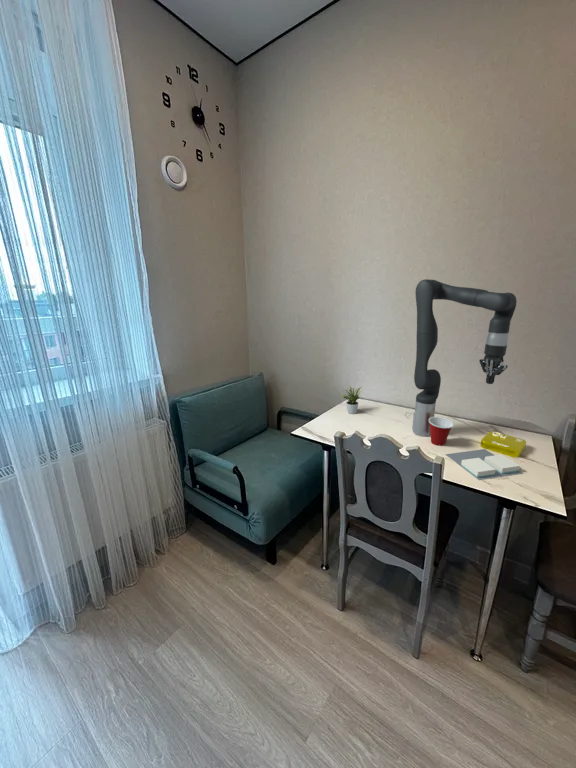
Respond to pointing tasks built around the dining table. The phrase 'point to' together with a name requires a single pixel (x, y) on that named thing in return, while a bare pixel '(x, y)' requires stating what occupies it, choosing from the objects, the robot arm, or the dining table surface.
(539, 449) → the dining table surface
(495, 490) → the dining table surface
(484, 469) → the tile
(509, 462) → the tile
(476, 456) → the mat
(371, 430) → the dining table surface
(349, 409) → the house plant
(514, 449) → the element tile
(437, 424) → the plastic cup
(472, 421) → the dining table surface
